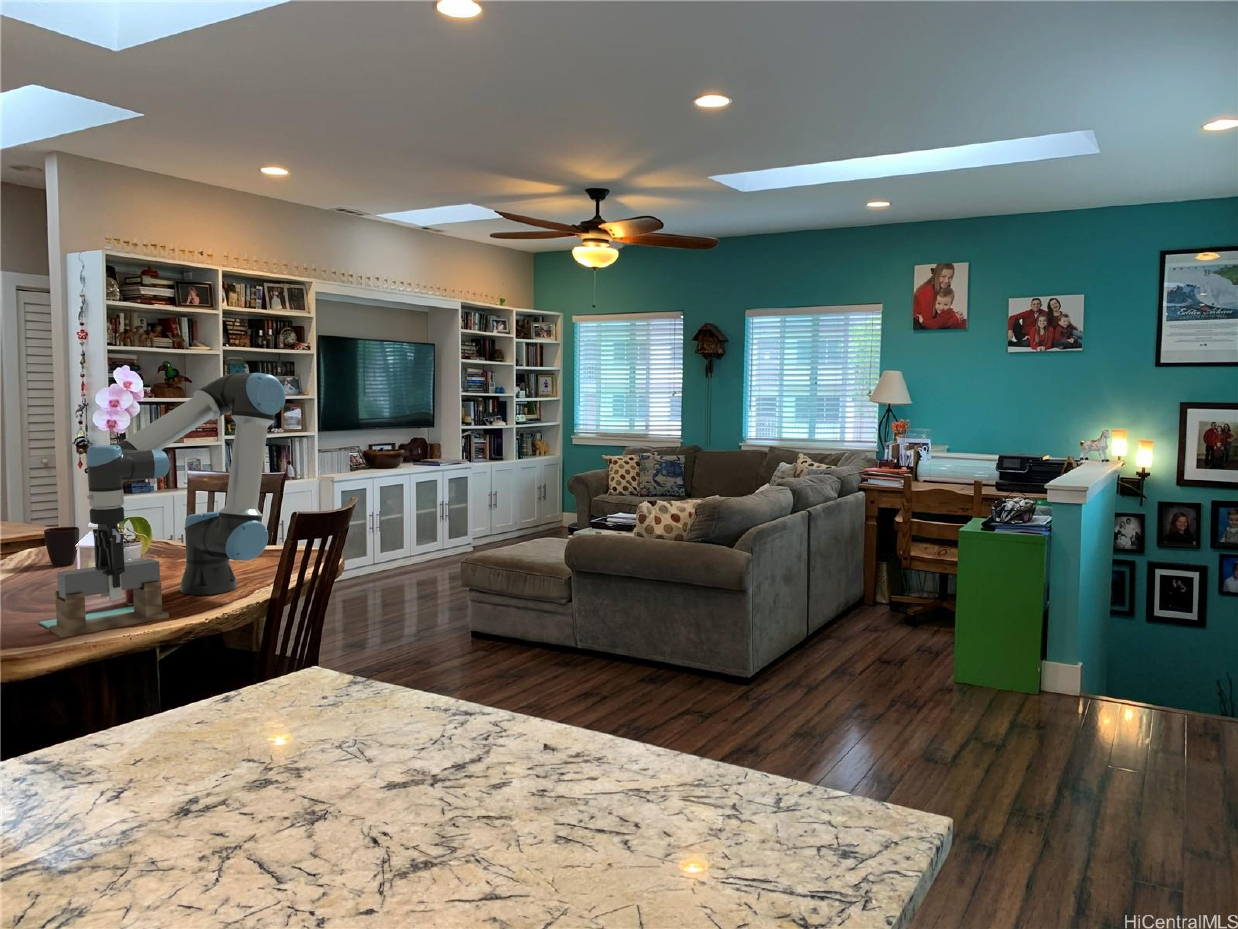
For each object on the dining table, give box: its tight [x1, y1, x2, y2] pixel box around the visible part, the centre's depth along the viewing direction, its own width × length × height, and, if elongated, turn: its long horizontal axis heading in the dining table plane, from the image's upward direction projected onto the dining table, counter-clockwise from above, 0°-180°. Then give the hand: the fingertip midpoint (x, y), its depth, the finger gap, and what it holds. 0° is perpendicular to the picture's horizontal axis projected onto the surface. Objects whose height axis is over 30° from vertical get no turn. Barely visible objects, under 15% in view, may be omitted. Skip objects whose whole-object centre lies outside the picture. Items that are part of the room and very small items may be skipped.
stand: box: [49, 580, 170, 638], centre depth 227 cm, size 25×8×10 cm, turn 139°
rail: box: [56, 558, 161, 599], centre depth 227 cm, size 22×5×6 cm, turn 139°
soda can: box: [124, 557, 152, 606], centre depth 250 cm, size 7×7×12 cm
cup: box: [43, 526, 80, 568], centre depth 300 cm, size 10×14×12 cm
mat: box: [38, 605, 134, 630], centre depth 234 cm, size 24×7×1 cm, turn 139°
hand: (111, 597), depth 228 cm, fingers closed on rail, 5 cm apart
